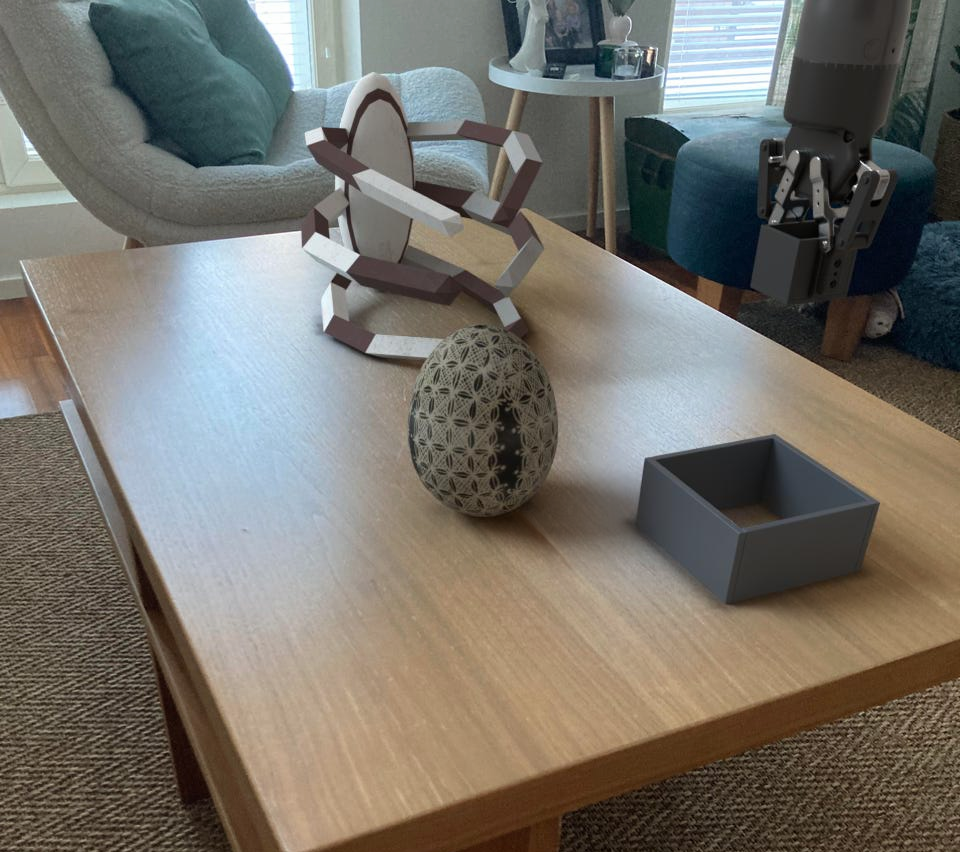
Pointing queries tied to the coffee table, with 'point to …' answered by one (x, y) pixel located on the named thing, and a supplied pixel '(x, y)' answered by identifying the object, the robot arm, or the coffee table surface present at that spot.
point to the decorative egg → (482, 422)
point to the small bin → (792, 262)
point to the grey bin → (761, 548)
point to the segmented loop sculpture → (408, 216)
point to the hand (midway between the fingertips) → (798, 287)
